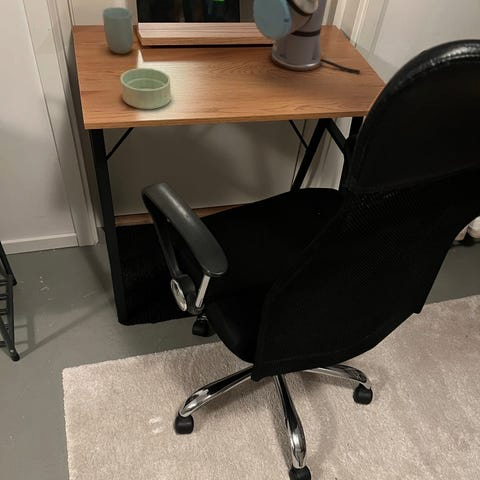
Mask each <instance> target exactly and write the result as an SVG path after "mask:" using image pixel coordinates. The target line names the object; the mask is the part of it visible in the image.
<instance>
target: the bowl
mask: <svg viewBox="0 0 480 480" xmlns="http://www.w3.org/2000/svg"><path fill="white" fill-rule="evenodd" d="M119 81H120V82H119V84H120V90H121V97H122V100H123V101H124V102H125V103H126V104H128V105H129V106H131V107H134V108H135V109H136V108H137V109H142V110H154V109H158V108H161V107H164V106H165V105H168V103H169V102H170V101H171V99H172V89H171V87H172V86H171V83H172V82H171V78H170V76H169V75H168V74H167V73H166V72H164V71H162V70H159V69H155V68H149V67H138V68H133V69H129V70H127V71H124V72H123V73H121V75H120V77H119Z"/></svg>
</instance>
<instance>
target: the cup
mask: <svg viewBox="0 0 480 480" xmlns="http://www.w3.org/2000/svg"><path fill="white" fill-rule="evenodd" d="M132 14H133V13H132V11H131V10H130V9H128V8H125V7H120V6H119V7H118V6H111V7H110V6H109V7H107V8H105V9H103V10H102V20H103V21H102V22H103V28H104V29H103V30H104V34H105V35H104V36H105V41H106V44H107V46H108V48H109V49H110V51H111V52H113V53H115V54H119V55H126V54H128V53H130V52H131V51H132V49H133V46H134V24H133V15H132Z"/></svg>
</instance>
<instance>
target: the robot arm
mask: <svg viewBox="0 0 480 480" xmlns="http://www.w3.org/2000/svg"><path fill="white" fill-rule="evenodd" d="M327 3H328V0H254V1H253V5H252V11H253V13H252V17H253V21H254V24H255V27H256V29H257V30H258V31H259V33H260V34H261V35H262V36H263V37H265V39H268V40H271V41H275V42H274V43H273V44H272V49H271V52H270V53H271V54H270V60H271V61H272V62H273V63H274V64H275V65H276V66H279V67H281V68H284V69H286V70H290V71H296V72H309V71H313V70H316V69H318V68H319V67H320V66H321V63H324V64H327V65H330V66H331V67H335V68H337V69H340V70H343V71H345V72H351V73H357V74H360V72H361V70H360V69H355V68H350V67H346V66H342V65H340V64H337V63H335V62H333V61H330V60H327V59H324V58H322V45H321V31H322V27H323V22H324V17H325V11H326V7H327Z"/></svg>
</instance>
